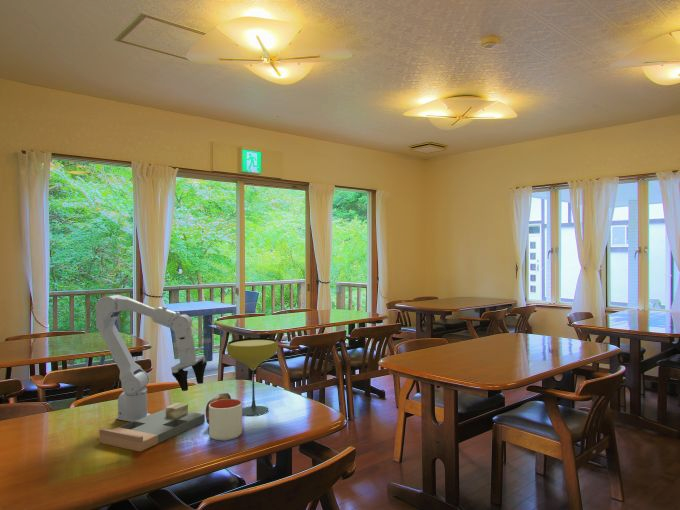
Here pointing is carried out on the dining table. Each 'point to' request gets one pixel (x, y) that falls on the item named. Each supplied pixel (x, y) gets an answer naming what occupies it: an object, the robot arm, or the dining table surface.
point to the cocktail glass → (252, 361)
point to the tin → (220, 397)
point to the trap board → (149, 430)
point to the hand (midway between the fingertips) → (192, 387)
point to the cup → (225, 419)
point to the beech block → (176, 410)
